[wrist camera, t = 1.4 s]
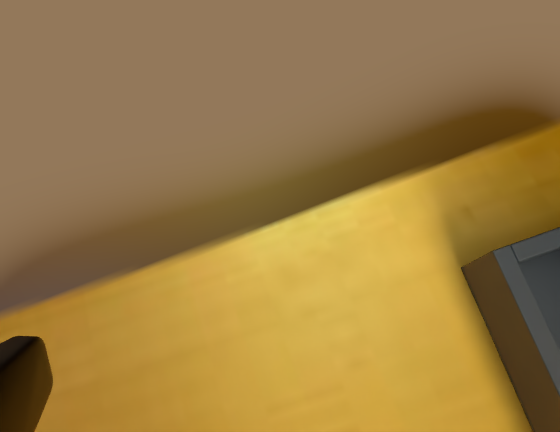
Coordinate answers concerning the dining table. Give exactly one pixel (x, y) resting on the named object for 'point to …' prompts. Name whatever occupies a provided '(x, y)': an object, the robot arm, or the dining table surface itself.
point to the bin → (525, 319)
